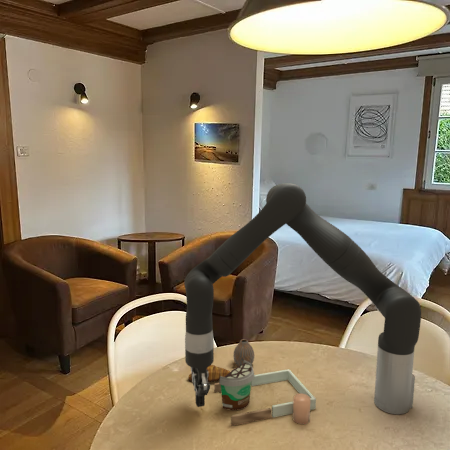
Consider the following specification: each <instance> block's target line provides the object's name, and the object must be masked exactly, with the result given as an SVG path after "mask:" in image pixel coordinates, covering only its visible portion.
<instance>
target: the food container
mask: <svg viewBox="0 0 450 450" xmlns="http://www.w3.org/2000/svg"><path fill="white" fill-rule="evenodd" d="M252 365H253V364H252ZM252 365H251V364H250V363H249V362H247V361H245V360H244V363H243V364H242V365H241V366H239V367H238V366H237V367H235V368H233V369H232V370H231V371H230V373H229V374H228V375H226V376H225V377H222V376H220V380H219V381H218V383H219V384H221V392H220V393H221V404H222V405H221V407H222V409H225V410H228V411H239V410H243V409H245V408H247V407H248V406H249V404H250V400H251V392H252V391H251V390H252V386H251V381H252V380H253V378H254V375H255V371H254V367H253V366H252Z"/></svg>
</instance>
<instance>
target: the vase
mask: <svg viewBox="0 0 450 450" xmlns="http://www.w3.org/2000/svg"><path fill="white" fill-rule="evenodd" d="M232 357H233V361H234V364H235V365H236V366H237V367H239V366H241V365H242V364H243V363H244V360H245V361H247V362H249V363H250V364H251V365H253V363H254V361H255V351H254V348H253V347H252V345H251V344H250V343H249V341H248V339H246V338H243V339H240V341H239V342H238V344H237V345H236V346H235V348H234V350H233V356H232Z"/></svg>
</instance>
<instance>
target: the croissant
mask: <svg viewBox="0 0 450 450" xmlns="http://www.w3.org/2000/svg"><path fill="white" fill-rule="evenodd" d="M207 370H208V372H209V376H208V383H210V384H211V383H217V382H219V380H220V376H222V377H225V376H226V375H228V374H229V373H230V372H231V371H229V370H228V369H226V368H223V367H220V366H216V365H214V364H211V365H210V366H208V367H207ZM187 379H188V381H189V382H192V383H193V381H192V374H191V373H190V374H188V377H187Z"/></svg>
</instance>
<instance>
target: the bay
mask: <svg viewBox="0 0 450 450" xmlns="http://www.w3.org/2000/svg"><path fill="white" fill-rule="evenodd" d="M283 381H288V382H289V383H290V384H291V385H292V386H293V388H294V389H295V390H296V391H297V392H298V394H299V393H302V394H306V395H308V396H309V397H310V411H311V410H315V409H316V408H317V398H316V396H314V395H313V394H312V393H311V392H310V391H309V389H308V388H307V387H306V386H305V385H304V384H303V382H301V381H300V379H299V378H298V377H297V375H295V374H294V373H293V372H292V370H291V369H283V370H277V371H270V372H264V373H259V374H254V378H253V380H252V381H251V387H255V386H260V385H265V384H266V385H268V384H271V383H276V382H277V383H278V382H283ZM287 415H293V401H290V402H289V401H287V402H285V403H278V404H272V405H271V418H276V417H278V418H279V417H281V416H282V417H283V416H287Z"/></svg>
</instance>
